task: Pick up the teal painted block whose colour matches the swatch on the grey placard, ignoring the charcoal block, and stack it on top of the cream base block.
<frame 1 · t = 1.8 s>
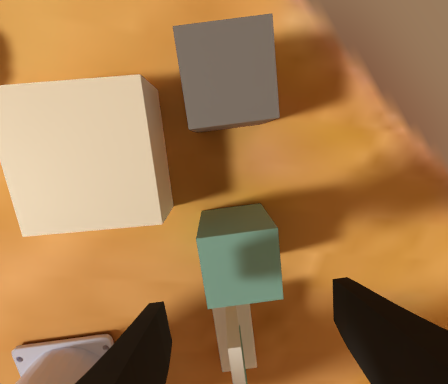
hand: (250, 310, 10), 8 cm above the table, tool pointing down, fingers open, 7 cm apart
teal block: (234, 234, 18), on the table
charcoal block: (224, 94, 16), on the table
cream base block: (110, 155, 16), on the table
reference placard: (234, 329, 20), on the table
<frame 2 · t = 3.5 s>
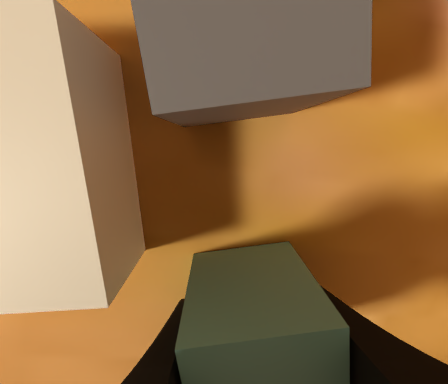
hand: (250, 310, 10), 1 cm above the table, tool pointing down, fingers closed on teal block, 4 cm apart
teal block: (246, 289, 11), on the table, touching gripper
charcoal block: (231, 61, 9), on the table
cream base block: (41, 165, 10), on the table
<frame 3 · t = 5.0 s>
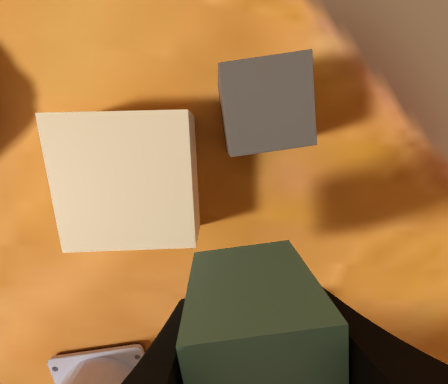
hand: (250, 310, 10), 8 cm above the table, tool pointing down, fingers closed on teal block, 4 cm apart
teal block: (246, 287, 11), point 7 cm above the table, touching gripper
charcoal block: (253, 115, 16), on the table
cream base block: (143, 174, 17), on the table
when the fingers open (6 cm above the table, at t = 6.8 s): teal block drops 1 cm, resting on cream base block.
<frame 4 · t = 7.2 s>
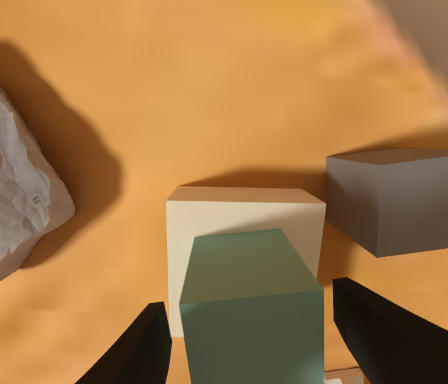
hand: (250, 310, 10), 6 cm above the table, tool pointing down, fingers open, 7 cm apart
teal block: (240, 271, 12), point 4 cm above the table, touching cream base block
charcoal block: (359, 185, 15), on the table
cream base block: (237, 242, 16), on the table, touching teal block
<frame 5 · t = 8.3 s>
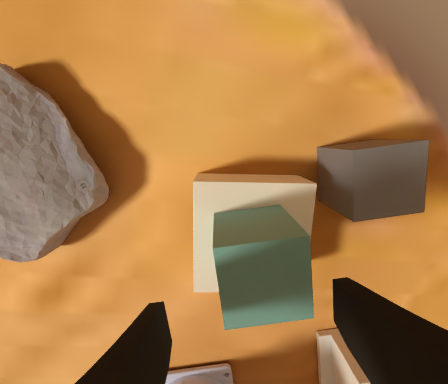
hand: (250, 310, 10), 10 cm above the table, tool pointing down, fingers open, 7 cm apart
teal block: (250, 239, 16), point 4 cm above the table
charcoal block: (344, 170, 19), on the table
stone block: (40, 160, 18), on the table
cream base block: (245, 220, 20), on the table
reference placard: (332, 358, 23), on the table
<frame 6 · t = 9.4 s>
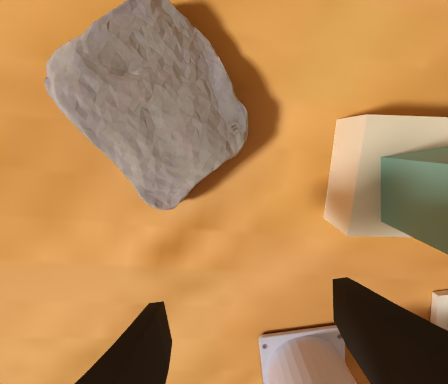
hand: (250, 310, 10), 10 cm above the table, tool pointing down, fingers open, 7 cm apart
teal block: (413, 185, 15), point 4 cm above the table, touching cream base block
stone block: (169, 109, 18), on the table
cream base block: (375, 171, 19), on the table, touching teal block
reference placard: (445, 321, 22), on the table
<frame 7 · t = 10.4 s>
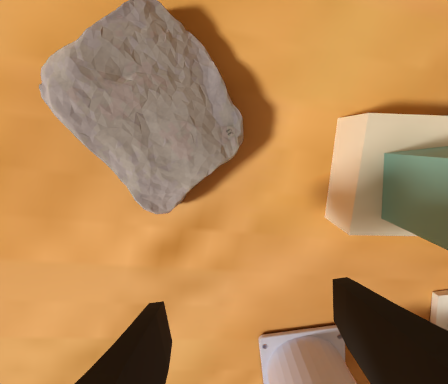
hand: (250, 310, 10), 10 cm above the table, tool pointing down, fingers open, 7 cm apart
teal block: (415, 183, 15), point 4 cm above the table
stone block: (164, 113, 18), on the table
cream base block: (376, 170, 19), on the table
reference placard: (445, 321, 22), on the table
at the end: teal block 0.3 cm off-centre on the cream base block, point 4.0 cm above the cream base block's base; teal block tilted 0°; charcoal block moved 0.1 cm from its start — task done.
